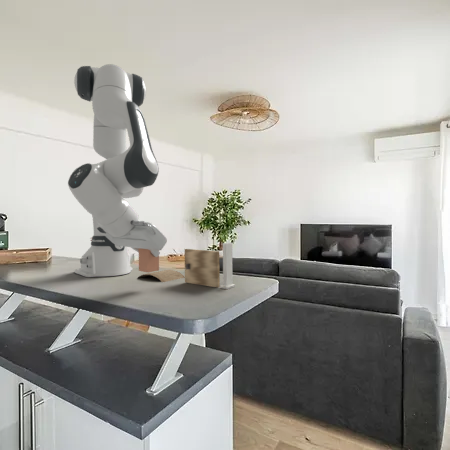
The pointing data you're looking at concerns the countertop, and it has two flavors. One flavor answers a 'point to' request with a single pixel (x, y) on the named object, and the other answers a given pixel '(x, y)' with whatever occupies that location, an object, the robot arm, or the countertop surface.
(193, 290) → the countertop surface
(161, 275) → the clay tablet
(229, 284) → the wall post
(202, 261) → the oak door
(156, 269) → the block
